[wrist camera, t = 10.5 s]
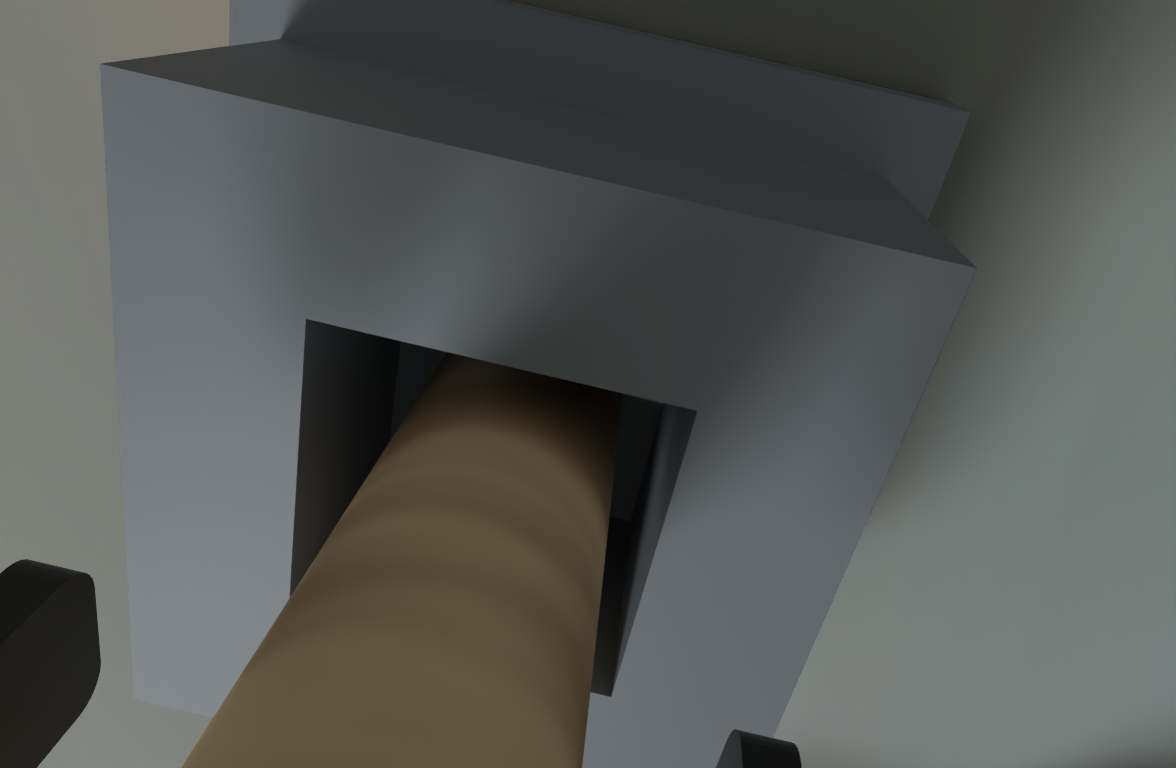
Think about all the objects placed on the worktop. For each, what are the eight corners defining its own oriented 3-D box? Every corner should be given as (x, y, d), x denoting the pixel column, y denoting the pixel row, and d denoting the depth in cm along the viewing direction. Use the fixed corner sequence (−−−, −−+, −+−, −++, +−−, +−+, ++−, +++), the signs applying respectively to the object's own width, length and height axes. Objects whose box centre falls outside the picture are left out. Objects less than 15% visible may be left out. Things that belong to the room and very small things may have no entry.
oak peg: (460, 279, 18) (135, 704, 7) (643, 324, 18) (608, 815, 7) (433, 440, 20) (137, 989, 9) (600, 481, 20) (518, 1076, 9)
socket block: (267, -56, 17) (16, -79, 11) (948, 102, 17) (1103, 174, 10) (249, 537, 23) (88, 739, 17) (737, 653, 23) (755, 900, 17)
